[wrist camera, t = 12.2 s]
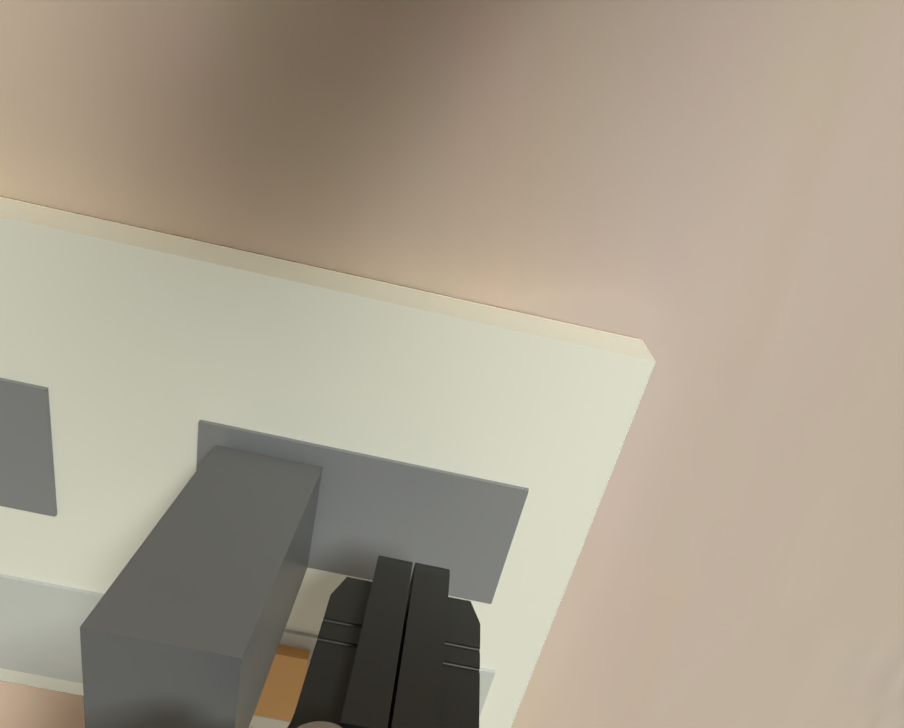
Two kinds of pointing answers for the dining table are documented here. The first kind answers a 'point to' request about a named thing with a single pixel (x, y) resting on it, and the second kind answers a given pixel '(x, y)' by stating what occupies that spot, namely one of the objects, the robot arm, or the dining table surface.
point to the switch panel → (289, 434)
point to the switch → (203, 599)
